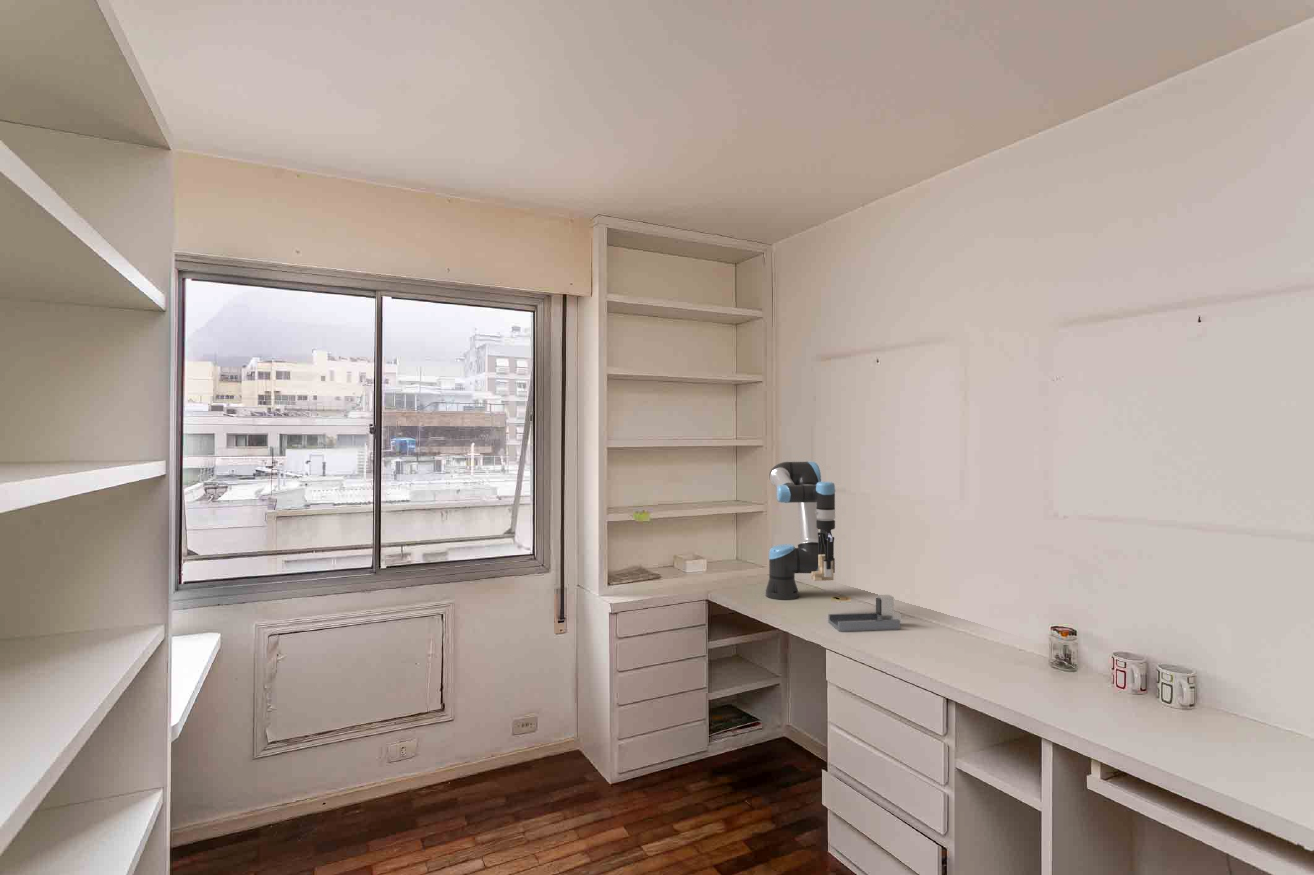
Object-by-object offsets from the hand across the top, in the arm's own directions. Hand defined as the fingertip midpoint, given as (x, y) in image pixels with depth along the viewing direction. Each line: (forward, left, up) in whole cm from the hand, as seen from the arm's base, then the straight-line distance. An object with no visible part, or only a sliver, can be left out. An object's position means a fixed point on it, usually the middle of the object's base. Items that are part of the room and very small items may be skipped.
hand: (825, 575), depth 278 cm
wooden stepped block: (0, -1, -2) cm, 2 cm away
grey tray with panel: (+17, +10, -17) cm, 26 cm away
